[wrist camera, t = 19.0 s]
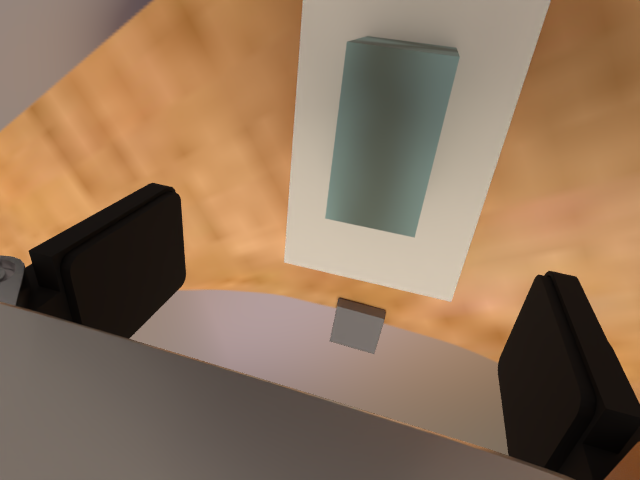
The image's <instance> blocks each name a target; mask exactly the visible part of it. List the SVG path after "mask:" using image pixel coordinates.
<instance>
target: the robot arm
mask: <svg viewBox="0 0 640 480" xmlns="http://www.w3.org/2000/svg"><path fill="white" fill-rule="evenodd" d="M29 254H30V257H31V261H32V264H31V265H29V266H27V267H26V268H25V265H24V263H23V262H22V261H21V260H20V259H17V258H15V257H11V256H0V480H640V404H639V402H638V400H637V398H636V395H635V393H634V391H633V389H632V387H631V385H630V383H629V381H628V379H627V377H626V375H625V373H624V371H623V369H622V367H621V364H620V362H619V360H618V358H617V356H616V354H615V352H614V350H613V348H612V346H611V345H610V344H609V342H608V341H607V338H606V336H605V334H604V332H603V330H602V328H601V326H600V324H599V322H598V320H597V318H596V316H595V313H594V311H593V309H592V307H591V305H590V303H589V301H588V299H587V297H586V295H585V293H584V290H583V288H582V286H581V284H580V282H579V280H578V278H577V277H575V276H571V275H566V274H562V273H557V272H553V271H548V272H547V273H546V274H545V275H544V276H543V275H537V276H536V278H535V279H534V281H533V284H532V286H531V288H530V290H529V293H528V295H527V297H526V300H525V302H524V304H523V306H522V309H521V311H520V313H519V315H518V318H517V320H516V322H515V324H514V327H513V329H512V331H511V334H510V336H509V338H508V340H507V343H506V345H505V347H504V349H503V352H502V354H501V356H500V359H499V363H498V377H499V385H500V392H501V399H502V408H503V415H504V423H505V430H506V439H507V447H508V454H509V456H508V455H505V454H502V453H499V452H496V451H493V450H490V449H487V448H483V447H480V446H477V445H474V444H471V443H467V442H464V441H461V440H458V439H455V438H451V437H448V436H445V435H442V434H439V433H436V432H432V431H429V430H426V429H423V428H419V427H416V426H413V425H410V424H407V423H403V422H400V421H396V420H393V419H390V418H387V417H384V416H380V415H377V414H374V413H371V412H368V411H364V410H361V409H358V408H355V407H352V406H348V405H345V404H342V403H339V402H336V401H332V400H329V399H326V398H322V397H319V396H316V395H313V394H310V393H306V392H303V391H300V390H297V389H293V388H290V387H287V386H283V385H280V384H277V383H273V382H270V381H267V380H264V379H260V378H257V377H254V376H251V375H247V374H244V373H241V372H238V371H234V370H231V369H227V368H224V367H221V366H218V365H214V364H211V363H208V362H205V361H201V360H198V359H195V358H191V357H188V356H185V355H181V354H178V353H175V352H171V351H168V350H165V349H161V348H158V347H154V346H151V345H148V344H144V343H141V342H137V341H134V340H131V339H129V338H130V337H131V336H132V335H133V334H134V333H135V332H136V331H137V330H138V329H139V328H140V327H141V326H142V325H143V324H144V323H145V322H146V321H147V320H148V319H149V318H150V317H151V316H152V315H153V314H154V313H155V312H156V311H157V310H158V309H159V308H160V307H161V306H162V305H163V304H164V303H165V302H166V301H167V300H168V299H169V298H170V297H171V296H172V295H173V294H174V293H175V292H176V291H177V290H178V289H179V288H180V287H181V286H182V285H183V283H184V281H185V277H186V268H185V254H184V240H183V225H182V211H181V199H180V196H179V195H178V194H177V193H176V192H175V189H174V188H173V187H169V186H164V185H160V184H155V183H150V184H148V185H146V186H145V187H143V188H141V189H139V190H137V191H136V192H134V193H132V194H130V195H128V196H127V197H125V198H123V199H121V200H119V201H118V202H116V203H114V204H112V205H110V206H108V207H107V208H105V209H103V210H101V211H99V212H98V213H96V214H94V215H92V216H90V217H89V218H87V219H85V220H83V221H81V222H80V223H78V224H76V225H74V226H72V227H71V228H69V229H67V230H65V231H63V232H62V233H60V234H58V235H56V236H54V237H53V238H51V239H49V240H47V241H45V242H43V243H42V244H40V245H38V246H36V247H34V248H33V249H31V250H29Z"/></svg>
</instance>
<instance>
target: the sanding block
mask: <svg viewBox="0 0 640 480" xmlns="http://www.w3.org/2000/svg"><path fill="white" fill-rule="evenodd" d="M459 58H460V56H459V53H458V51H457V48H455V47H447V46H440V45H432V44H425V43H417V42H409V41H402V40H394V39H387V38H379V37H372V36H366V37H362V38H358V39H355V40H351V41H347V44H346V53H345V61H344V69H343V77H342V85H341V93H340V101H339V110H338V118H337V126H336V134H335V142H334V150H333V158H332V166H331V175H330V183H329V191H328V199H327V207H326V215H325V219H330V220H334V221H339V222H344V223H348V224H353V225H358V226H362V227H367V228H372V229H377V230H381V231H386V232H391V233H395V234H400V235H405V236H409V237H414V238H415V234H416V230H417V226H418V222H419V218H420V214H421V210H422V206H423V202H424V198H425V194H426V190H427V186H428V182H429V178H430V174H431V170H432V166H433V162H434V158H435V154H436V150H437V146H438V142H439V138H440V134H441V130H442V126H443V122H444V118H445V114H446V110H447V106H448V102H449V98H450V94H451V90H452V86H453V82H454V78H455V74H456V70H457V66H458V62H459Z"/></svg>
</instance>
